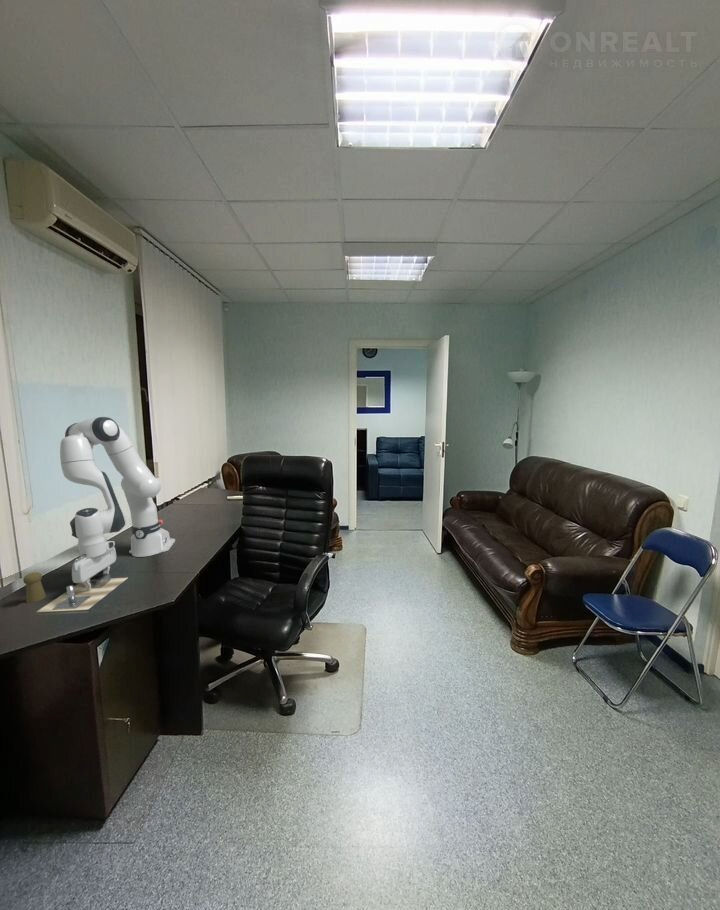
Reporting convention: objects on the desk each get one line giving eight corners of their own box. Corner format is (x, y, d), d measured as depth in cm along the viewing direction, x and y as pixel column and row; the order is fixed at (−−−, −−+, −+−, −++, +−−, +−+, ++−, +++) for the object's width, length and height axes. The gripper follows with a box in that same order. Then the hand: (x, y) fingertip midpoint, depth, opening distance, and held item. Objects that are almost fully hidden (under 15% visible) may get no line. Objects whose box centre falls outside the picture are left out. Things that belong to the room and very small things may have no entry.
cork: (25, 602, 140) (20, 574, 139) (46, 595, 145) (41, 568, 143) (26, 607, 136) (21, 579, 135) (48, 601, 140) (43, 573, 139)
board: (84, 582, 154) (84, 579, 154) (128, 580, 155) (128, 577, 155) (36, 615, 131) (35, 612, 130) (88, 612, 131) (88, 609, 131)
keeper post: (69, 598, 139) (66, 581, 139) (91, 596, 140) (88, 580, 139) (52, 609, 132) (49, 592, 131) (75, 608, 132) (72, 591, 131)
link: (95, 581, 152) (94, 574, 152) (110, 580, 152) (109, 573, 152) (85, 588, 146) (84, 581, 146) (100, 587, 146) (99, 580, 146)
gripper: (81, 560, 137) (86, 595, 139) (117, 540, 157) (121, 571, 159) (64, 561, 137) (69, 596, 139) (102, 540, 157) (106, 571, 159)
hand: (97, 582), depth 149 cm, fingers open, 8 cm apart
